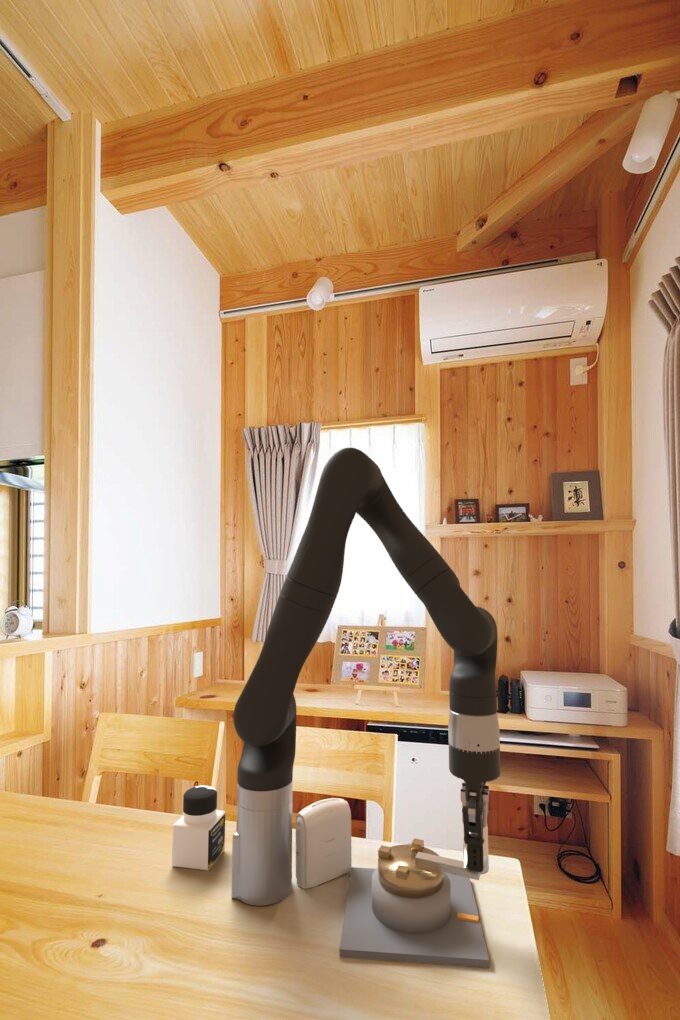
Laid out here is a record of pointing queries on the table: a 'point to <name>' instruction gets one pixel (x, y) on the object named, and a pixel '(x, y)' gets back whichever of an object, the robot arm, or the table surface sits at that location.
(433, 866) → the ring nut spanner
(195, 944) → the table surface
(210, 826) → the medicine bottle
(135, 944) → the table surface
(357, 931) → the plate
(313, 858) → the photo printer
